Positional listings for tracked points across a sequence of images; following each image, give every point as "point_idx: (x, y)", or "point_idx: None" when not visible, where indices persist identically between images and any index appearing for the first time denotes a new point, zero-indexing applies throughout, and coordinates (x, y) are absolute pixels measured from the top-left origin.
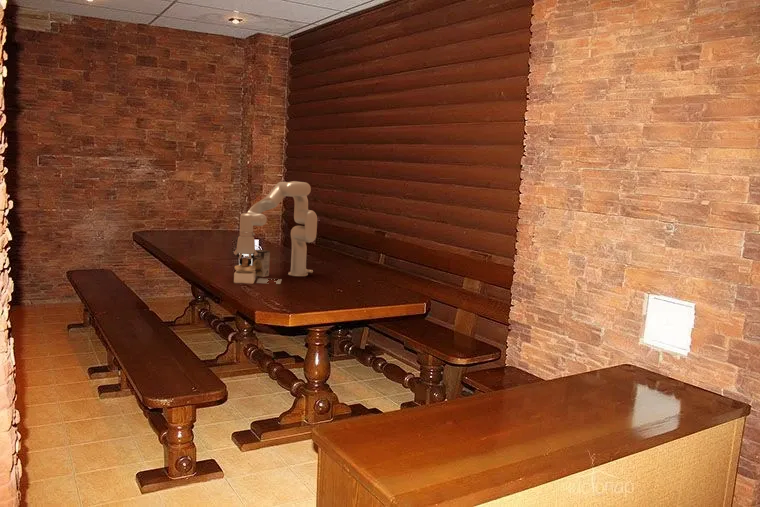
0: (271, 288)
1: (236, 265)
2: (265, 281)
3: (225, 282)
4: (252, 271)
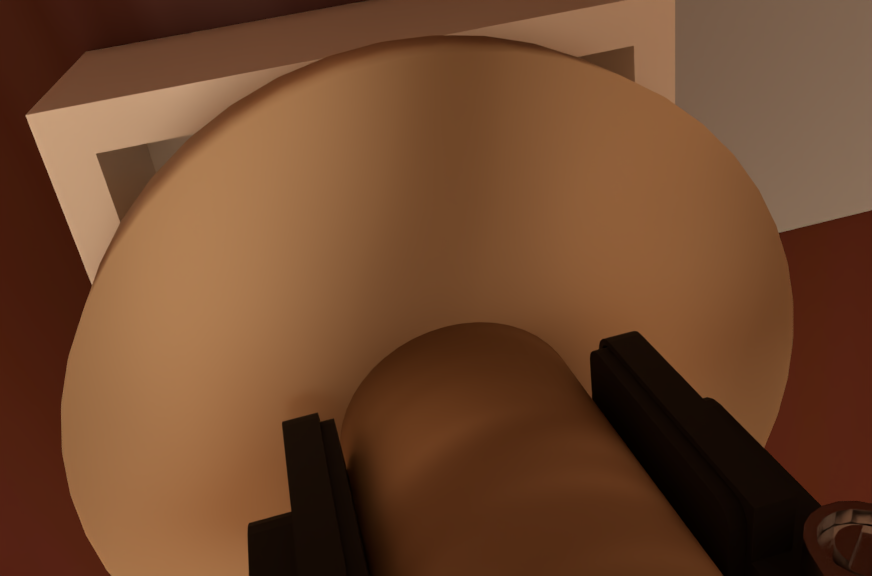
0: (868, 485)
1: (69, 386)
2: (790, 60)
3: (9, 434)
4: (580, 53)
